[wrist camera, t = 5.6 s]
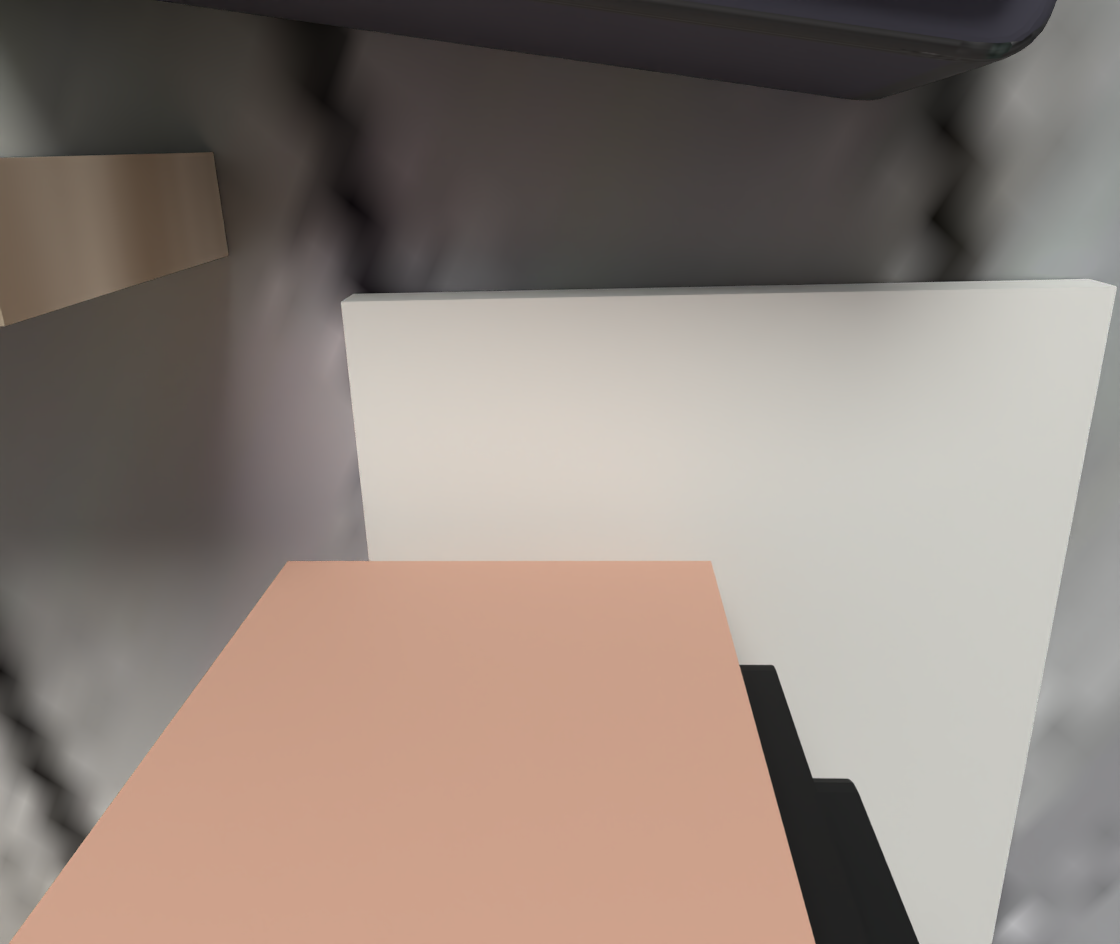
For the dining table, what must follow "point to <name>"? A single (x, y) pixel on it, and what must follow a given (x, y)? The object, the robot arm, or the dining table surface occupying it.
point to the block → (451, 772)
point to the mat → (779, 503)
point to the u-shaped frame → (101, 225)
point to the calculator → (712, 35)
